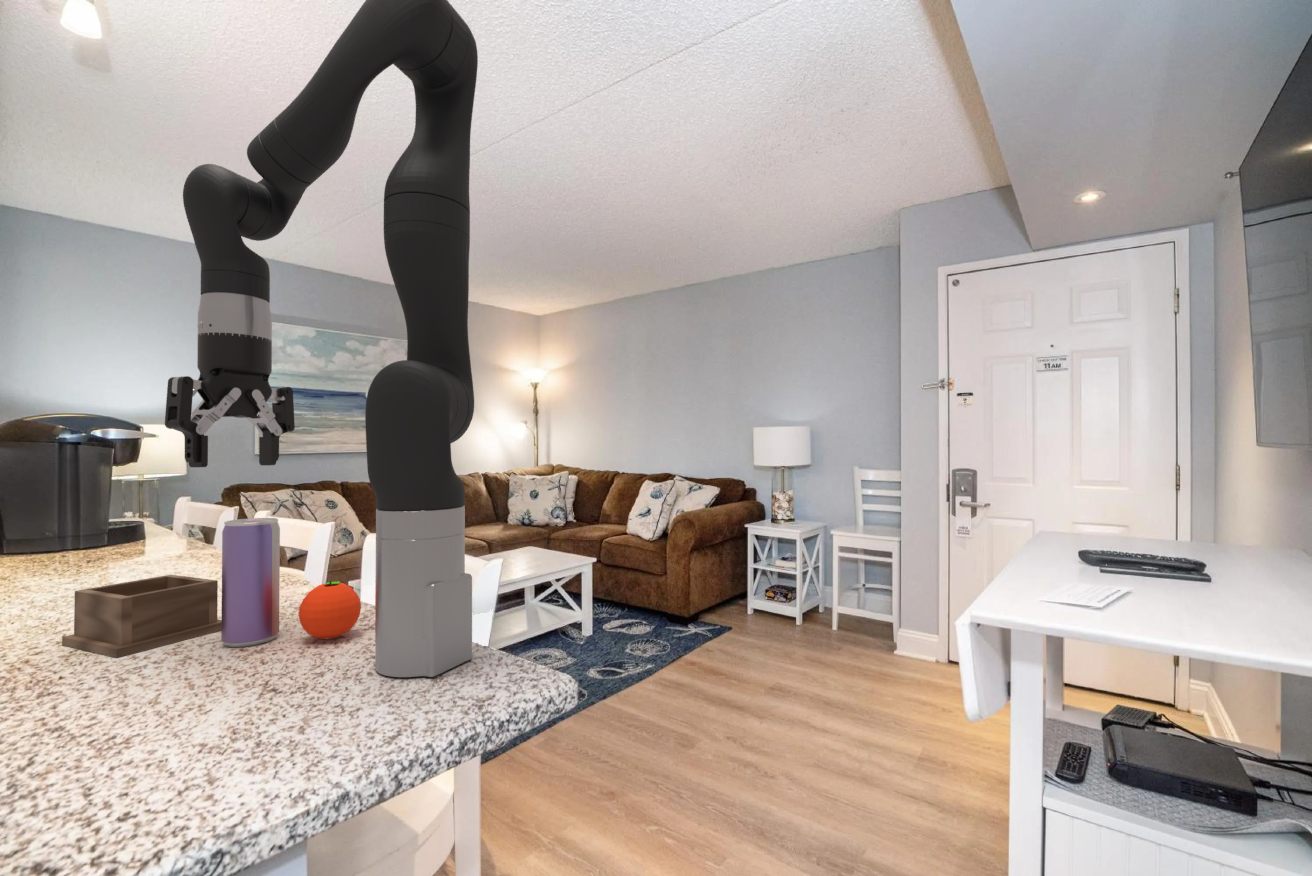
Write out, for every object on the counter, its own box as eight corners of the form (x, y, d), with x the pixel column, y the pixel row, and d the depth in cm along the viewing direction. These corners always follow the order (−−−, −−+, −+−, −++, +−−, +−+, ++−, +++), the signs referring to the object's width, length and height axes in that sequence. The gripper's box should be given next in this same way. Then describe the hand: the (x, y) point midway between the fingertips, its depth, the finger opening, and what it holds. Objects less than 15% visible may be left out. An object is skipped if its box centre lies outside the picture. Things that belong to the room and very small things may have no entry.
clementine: (311, 629, 78) (312, 575, 78) (368, 625, 80) (368, 572, 80) (289, 649, 71) (290, 589, 71) (353, 644, 72) (353, 585, 72)
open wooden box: (227, 628, 79) (227, 579, 79) (116, 657, 68) (117, 601, 68) (173, 619, 84) (174, 573, 84) (62, 645, 73) (62, 591, 73)
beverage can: (250, 649, 70) (251, 523, 71) (208, 646, 71) (209, 522, 72) (290, 634, 76) (291, 518, 76) (251, 632, 77) (252, 517, 78)
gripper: (195, 322, 65) (194, 468, 65) (309, 343, 79) (308, 464, 79) (150, 327, 68) (149, 468, 68) (268, 346, 81) (267, 464, 81)
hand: (235, 466), depth 73 cm, fingers open, 8 cm apart
